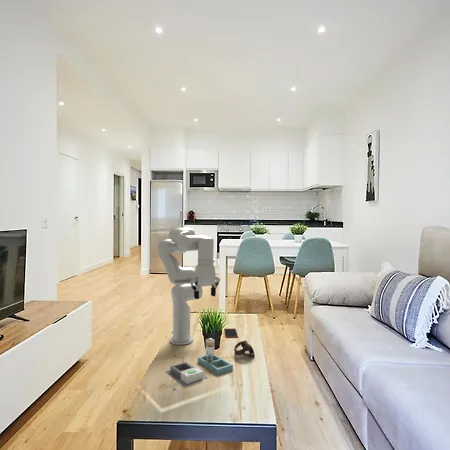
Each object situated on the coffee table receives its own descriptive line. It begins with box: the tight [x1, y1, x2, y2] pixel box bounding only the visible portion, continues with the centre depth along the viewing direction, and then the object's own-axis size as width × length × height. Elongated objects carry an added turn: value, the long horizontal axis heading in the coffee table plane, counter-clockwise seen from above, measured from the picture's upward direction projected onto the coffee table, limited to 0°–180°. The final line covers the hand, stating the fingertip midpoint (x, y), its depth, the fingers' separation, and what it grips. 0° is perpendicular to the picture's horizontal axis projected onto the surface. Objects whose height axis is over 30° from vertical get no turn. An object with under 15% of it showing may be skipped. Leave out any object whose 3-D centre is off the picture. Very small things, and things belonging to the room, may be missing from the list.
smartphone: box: [223, 328, 239, 339], centre depth 207 cm, size 7×1×15 cm
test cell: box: [205, 337, 216, 362], centre depth 163 cm, size 4×4×12 cm
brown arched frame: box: [233, 340, 255, 358], centre depth 176 cm, size 12×10×8 cm
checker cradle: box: [165, 361, 209, 387], centre depth 151 cm, size 16×12×5 cm
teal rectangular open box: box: [197, 353, 234, 376], centre depth 160 cm, size 16×8×4 cm, turn 37°
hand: (204, 297), depth 171 cm, fingers open, 9 cm apart
